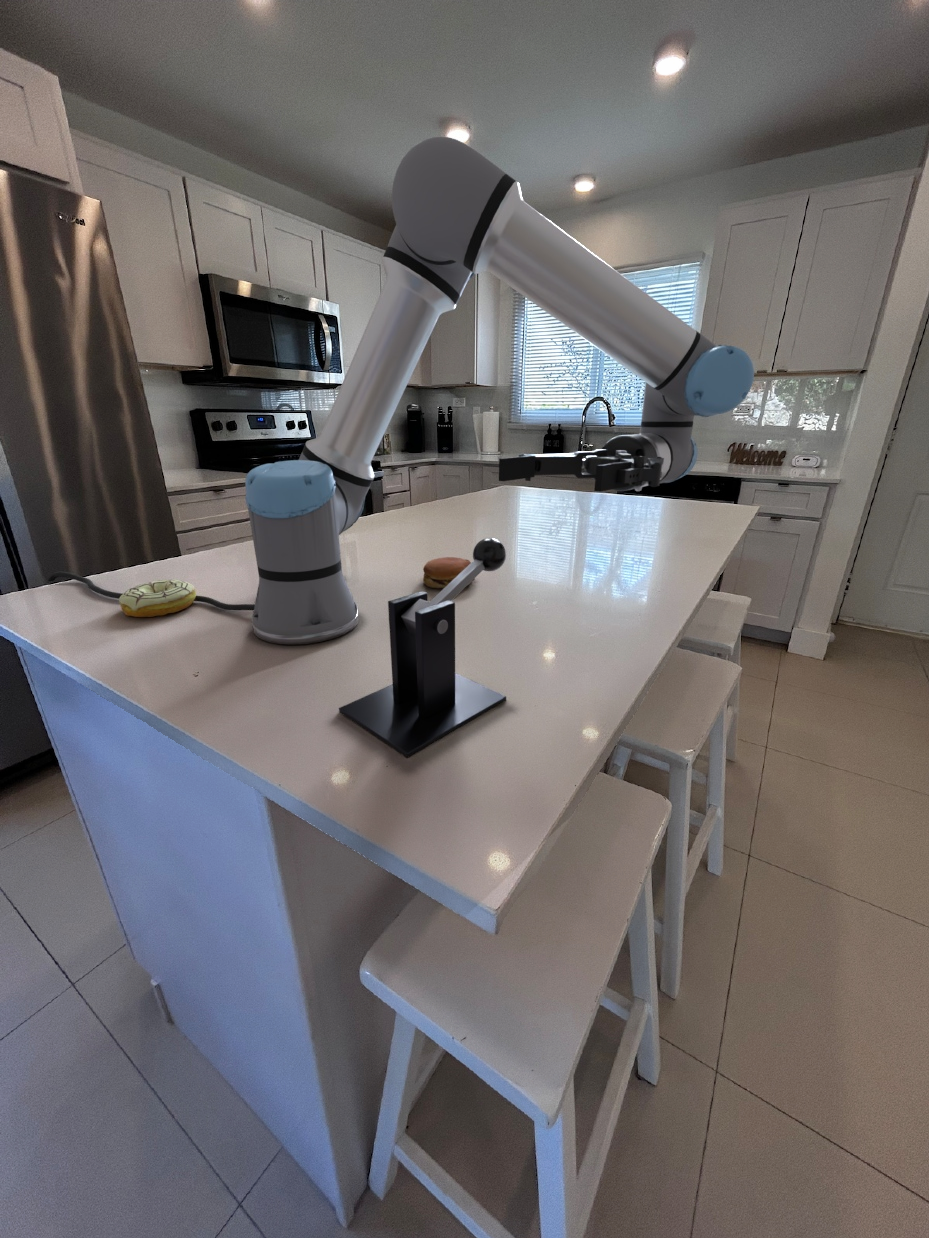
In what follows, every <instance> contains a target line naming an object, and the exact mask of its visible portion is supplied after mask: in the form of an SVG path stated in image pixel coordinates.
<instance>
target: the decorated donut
mask: <svg viewBox="0 0 929 1238" xmlns="http://www.w3.org/2000/svg"><path fill="white" fill-rule="evenodd" d="M122 594H123V595H121V596H120V598H119V599H118V602H119V604H120V609H121V611H122V612H123V613H124V614H125V615H126V616H128V617H134V618H135V617H137V618H144V617H148V618H153V617H156V616H167V614H174V613H178V612H179V611H182V610H184V609H188V608H189V607H190V606H191V605H192V604H193V603H194V602H195V601H194V599H195V597H196V596H197V593H196V589H195V587H194V585H193V584H191V583H189V582H188V581H184V580H180V579H172V578H171V579H162V580H161V579H159V580H154V581H150V582H145V583H141V584H138V585H135V586H133V587H130V588H129V589H127V590H125V591H124V592H123V593H122Z"/></svg>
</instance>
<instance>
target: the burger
mask: <svg viewBox="0 0 929 1238" xmlns="http://www.w3.org/2000/svg"><path fill="white" fill-rule="evenodd" d="M471 563H472V561H470V560H469V559H467V558H466V559H465V558H461V557H454V556H453V557H452V556H445V557H437V558H434V559H431V560H429V561H427V562H426V563H425V564H424V566H423V569H422V570H423V578H422V580H423V584H424V585H425V586H426V587H428V588H432V589H444V588H445V587H446V586H447V585H448V584H449V583H450V582H451V581H452V580H453V579H455V578H456V577H457V576H458V575H459V574H460V573H461V572H462V571H463V570H464V569H465V568H466V567H467V566H468V565H469V564H471ZM473 581H475V578H474V579H473V580H472V581H471V582H470V583H469V584H468V585H467V586H469V585H471V584H472V583H473Z"/></svg>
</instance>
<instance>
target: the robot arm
mask: <svg viewBox="0 0 929 1238" xmlns="http://www.w3.org/2000/svg"><path fill="white" fill-rule="evenodd" d="M391 208H392V214H393V218H394V221H395V227H394V229H393V231H392V234H391V236H390V238H389V242H388V244H387V247H386V249H385V251H384V254H383V256H382V258H381V263H382V266H383V270H384V272H385V282H384V283H383V285H382V289H381V291H380V294H379V296H378V298H377V301H376V303H375V305H374V307H373V310H372V312H371V315H370V316H369V319H368V322H367V324H366V327H365V329H364V331H363V334H362V335H361V338H360V340H359V343H358V345H357V347H356V350H355V353H354V354H353V357H352V360H351V362H350V363H349V367H348V369H347V371H346V374H345V376H344V378H343V380H342V383H341V385H340V388H339V391H338V392H337V395H336V398H335V400H334V402H333V405H332V407H331V408H330V412H329V414H328V416H327V418H326V421H325V423H324V425H323V428H322V430H321V433H320V435H319V436H318V437H315V438H312V439H310V440H307V441H306V442H305V444H304V446H303V449H302V450H301V451H302V452H301V454H300V455H299V458H298V459H293V460H281V461H275V462H274V463H270V462H269V463H264V464H261V465H259V466H256V467H254V468H252V469H251V470H249V472H247V474H246V476H245V480H244V484H245V485H244V486H245V496H244V498H245V504H246V506H247V511H248V518H249V524H250V530H251V535H252V541H253V549H254V555H255V561H256V566H257V567H256V568H257V574H258V584H257V585H258V586H257V590H256V596H255V601H254V603H239V604H236V603H235V604H232V603H231V604H230V603H224V602H221V601H219V600H217V599H214V598H212V597H208V596H203V595H196V597H195V599H194V602H199V603H200V602H201V603H206V604H209V605H212V606H214V607H216V608H218V609H221V610H226V611H232V612H233V611H235V612H236V611H253V613H252V616H251V617H252V621H251V623H252V629H253V634H254V635H255V636H256V637H257V638H259V639H260V640H263V641H265V642H268V643H271V644H272V643H273V644H277V645H278V644H279V645H308V644H315V643H321V642H324V641H325V642H326V641H329V640H333V639H335V638H338V637H341V636H343V635H345V634H347V633H349V632H351V631H352V630H354V629H355V628H356V626H357V625H358V624H359V607H358V603H357V601H356V600H355V599H354V597H353V595H352V593H351V590H350V588H349V586H348V583H347V581H346V579H345V576H344V573H343V569H342V568H343V567H342V566H343V565H342V558H341V557H342V555H341V545H340V535H341V534H343V532H346V531H347V530H349V529H350V528H351V527H353V526H354V525H355V524H356V523H357V521H358V520H359V519H360V517H361V515H362V513H363V511H364V506H365V504H366V502H365V500H366V496H367V494H368V492H369V489H370V488H371V485H372V483H373V481H374V479H375V473H374V469H373V467H372V461H373V458H374V456H375V455H376V452H377V450H378V448H379V446H380V443H381V441H382V440H383V437H384V435H385V433H386V431H387V428H388V427H389V424H390V422H391V420H392V418H393V416H394V413H395V412H396V410H397V407H398V405H399V403H400V401H401V399H402V396H403V395H404V392H405V390H406V388H407V386H408V384H409V381H410V380H411V378H412V375H413V373H414V371H415V368H416V367H417V364H418V362H419V361H420V358H421V356H422V354H423V351H424V349H425V348H426V345H427V343H428V341H429V339H430V337H431V335H432V332H433V330H434V328H435V327H436V323H437V322H438V319H439V317H440V316H441V315H442V314H444V313H446V312H449V311H453V310H455V309H456V307H457V304H458V303H459V301H460V298H461V296H462V294H463V293H464V290H465V288H466V286H467V284H468V283H469V282H468V281H469V280H471V279H472V278H473V277H474V276H475V275H478V274H481V273H485V272H489V273H490V274H491V275H493V276H494V277H495V278H497V279H499V280H500V281H501V282H503V283H505V284H506V286H509V287H510V288H511V289H513V290H514V291H516V292H517V293H518V294H520V295H521V296H523V297H524V298H526V299H527V300H529V301H530V302H531V303H533V304H534V305H536V306H537V307H538V308H540V309H541V310H543V311H544V312H546V313H547V314H548V315H550V316H551V317H552V318H553V319H556V320H557V321H558V322H560V323H561V324H562V325H564V326H565V327H566V328H567V329H570V330H571V331H572V332H574V333H575V334H576V335H578V336H579V337H581V338H583V339H584V340H585V341H586V342H588V343H589V344H591V345H592V346H594V347H595V348H596V349H598V350H600V351H601V352H602V353H604V354H605V355H606V356H608V357H609V358H610V359H612V360H614V362H616V363H618V364H619V365H620V366H622V367H623V368H625V369H626V370H628V371H629V372H631V373H632V374H633V375H635V376H636V377H638V378H639V379H640V380H642V381H643V382H644V393H643V403H642V411H641V419H640V420H641V421H640V428H639V433H634V434H622V435H621V434H620V435H616V436H614V437H612V438H610V439H608V441H607V442H605V444H604V445H603V446H602V447H601V448H600V449H598V448H597V449H594V450H592V451H573V452H569V453H542V454H541V453H540V454H538V453H537V454H526V453H520V454H518V456H512V457H511V456H510V457H500V458H498V481H499V482H511V481H515V480H523V479H524V481H526V482H531V479H532V478H535V477H536V476H571V475H572V476H573V477H574V478H576V479H593V480H594V487H593V488H594V490H593V491H594V492H598V493H599V492H600V493H602V492H606V491H614V492H627V491H631V490H634V491H636V492H640V491H642V489H643V488H644V487H648V486H649V487H651V488H656V487H660V484H668V483H672V482H675V481H677V480H680V479H681V478H683V477H684V476H686V475H688V474H689V473H690V472H691V471H692V470H693V469H694V467H695V465H696V463H697V460H698V455H699V452H698V451H699V450H698V445H697V444H696V441H695V440H694V438H693V437H692V434H693V427H694V418H695V417H696V416H698V417H702V418H709V417H713V416H717V415H722V414H725V413H728V412H730V411H732V410H734V409H735V408H737V407H738V406H739V405H740V404H741V403H743V401H745V399H746V398H747V396H748V394H749V393H750V391H751V389H752V386H753V383H754V378H755V369H754V364H753V361H752V359H751V357H750V356H749V354H748V353H747V352H746V351H745V350H743V349H742V348H740V347H738V346H734V345H733V346H732V345H727V344H724V345H722V344H718V345H717V344H715V343H714V342H713V341H711V340H710V339H709V338H708V337H706V336H705V335H703V334H702V333H700V332H699V331H697V330H695V328H693V327H691V325H689V324H688V323H686V322H685V321H683V319H681V318H680V317H678V316H677V315H675V314H674V313H673V312H672V311H670V310H669V309H667V308H666V307H665V306H664V305H663V304H661V303H660V302H658V301H657V300H656V299H655V298H653V297H652V296H651V295H649V294H648V293H647V292H645V291H644V290H642V288H640V287H639V286H637V285H636V284H634V283H633V282H632V281H631V280H629V279H628V278H627V277H625V275H623V274H621V273H620V272H619V271H617V270H616V269H614V268H613V267H612V266H611V265H609V264H608V263H607V262H605V261H604V260H603V259H602V258H600V257H599V256H597V255H596V254H594V252H592V251H591V250H589V249H588V248H587V247H586V246H584V245H583V244H582V243H580V242H579V241H577V240H576V239H575V238H574V237H572V236H571V235H570V234H568V233H567V232H565V230H563V229H562V228H560V227H559V226H558V225H556V224H555V223H554V222H552V220H550V219H548V218H547V217H546V216H545V215H543V214H542V213H540V212H539V211H537V210H536V209H535V208H534V207H533V206H532V205H530V204H528V203H527V202H526V201H525V200H524V198H523V196H522V190H521V185H520V183H519V182H518V181H517V180H516V179H514V178H513V177H512V176H511V175H509V174H507V173H506V172H505V171H504V170H502V169H501V168H500V167H498V165H496V164H494V163H493V162H492V161H491V160H489V159H488V158H486V157H485V156H484V155H483V154H481V153H480V152H479V151H477V150H476V149H474V148H472V147H471V146H469V145H468V144H466V143H464V142H462V141H460V140H458V139H456V138H453V137H448V136H432V137H429V138H426V139H423V140H421V141H419V142H418V143H416V144H415V145H413V146H412V147H411V148H409V149H408V151H407V152H406V153H405V154H404V156H403V157H402V159H401V161H400V163H399V164H398V166H397V168H396V171H395V175H394V178H393V181H392V190H391ZM582 468H583V469H582ZM583 470H584V471H585V473H583V472H582V471H583ZM57 578H68V579H70V580H74V581H78V582H80V583H83V584H86V586H87V588H88V589H89V590H90V591H92V592H95V593H97V594H99V595H101V596H104V597H108V598H112V599H118V600H119V598H120V596H121V595H123V594H124V593H121V592H117V591H111V590H107V589H103V588H102V587H99V586H97V585H95V584H94V583H93V581H92V580H91V579H89V578H87V577H84V576H81V575H78V574H75V573H72V572H67V571H55V572H53V573H51V574H50V575H49V577H48V578H47V582H54V581H55V580H56V579H57Z"/></svg>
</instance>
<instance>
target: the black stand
mask: <svg viewBox="0 0 929 1238" xmlns="http://www.w3.org/2000/svg"><path fill="white" fill-rule="evenodd" d="M428 598H429V597H428V593H427V592H426V591H423V590H420V591H418V592H414V593H411V594H407V595H404V596H400V597H398V598H395V599H391V600H388V601H387V607H388V608H387V609H388V611H387V612H388V625H389V626H388V627H389V628H388V629H389V644H390V645H389V646H390V662H391V663H390V664H391V680H392V683H391V684H389V685H388V686H387V685H386V686H384V687H383V688H381V689H379V690H376V691H374V692H371V693H369V694H367V695H365V696H363V697H360V698H359V699H355V700H353V701H352V702H350V703H347V704H345V705H342V706H340V707H339V708H338V712H339V714H340V715H342V716H344V717H345V718H346V719H348V720H349V721H351V722H353V723H354V724H356V725H357V726H358V727H360V728H362V729H363V730H364V731H366V732H367V733H369V734H370V735H372V736H373V737H375V738H376V739H377V740H379V741H381V742H382V743H384V744H385V745H387V746H388V747H389V748H391V749H393V750H394V751H396V752H397V753H398V754H400V755H401V756H402V757H405V759H409V758H411V757H412V756H414V755H416V754H418V753H419V752H421V751H423V750H424V749H426V748H428V747H430V746H432V745H433V744H435V743H436V742H438V741H440V740H442V739H443V738H445V737H447V736H449V735H451V734H452V733H453V732H456V731H457V730H458V729H459V730H460V729H461V728H462V727H463V726H466V725H467V724H469V723H471V722H472V721H474V720H475V719H478V718H479V717H481V716H483V715H484V714H486V713H487V712H489V711H491V710H493V709H494V708H496V707H498V706H500V705H501V704H503V703H505V702H506V701H507V696H506V695H504V694H502V693H500V692H497V690H494V689H491V688H489V687H488V686H485V685H483V684H480V683H478V682H476V681H474V680H472V679H470V678H467V677H465V676H463V675H462V674H460V673H457V672H456V602H455V601H453V600H451V601H445V602H442V603H439V604H436V605H433V606H430V607H427V608H424V609H421V610H418V611H415V630H416V636H415V635H412V634H410V633H409V631H408V629H407V627H406V625H405V623H404V621H403V619H402V617H401V616H402V615H403V614H404V613H405V612H406V611H407V610H408V609H409V608H410V607H411V606H413V605H414V604H415V603H416V602H417V601H418V600H419V599H422V600H425V601H428V600H429V599H428ZM428 602H429V601H428Z"/></svg>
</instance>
